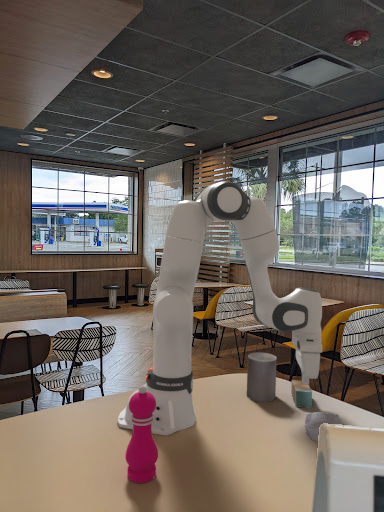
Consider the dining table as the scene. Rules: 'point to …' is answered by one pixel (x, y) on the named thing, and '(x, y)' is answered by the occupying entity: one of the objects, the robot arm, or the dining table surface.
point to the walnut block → (301, 394)
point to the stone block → (319, 422)
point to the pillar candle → (261, 377)
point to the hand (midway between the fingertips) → (305, 383)
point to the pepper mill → (142, 438)
